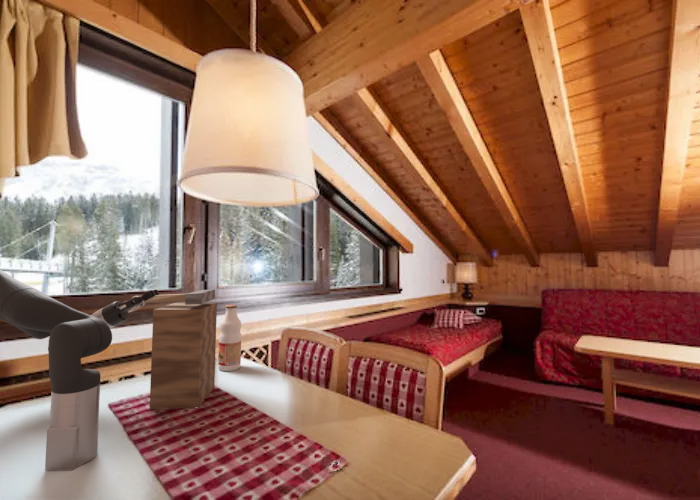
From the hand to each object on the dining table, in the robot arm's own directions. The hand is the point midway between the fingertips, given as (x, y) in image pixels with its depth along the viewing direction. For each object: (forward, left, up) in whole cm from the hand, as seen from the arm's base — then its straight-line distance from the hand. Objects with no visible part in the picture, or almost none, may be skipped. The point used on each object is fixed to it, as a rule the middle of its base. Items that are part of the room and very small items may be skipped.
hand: (155, 292), depth 119 cm
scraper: (0, -5, -4) cm, 7 cm away
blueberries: (-44, -61, -37) cm, 84 cm away
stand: (0, -11, -37) cm, 38 cm away
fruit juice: (+32, -18, -37) cm, 52 cm away
